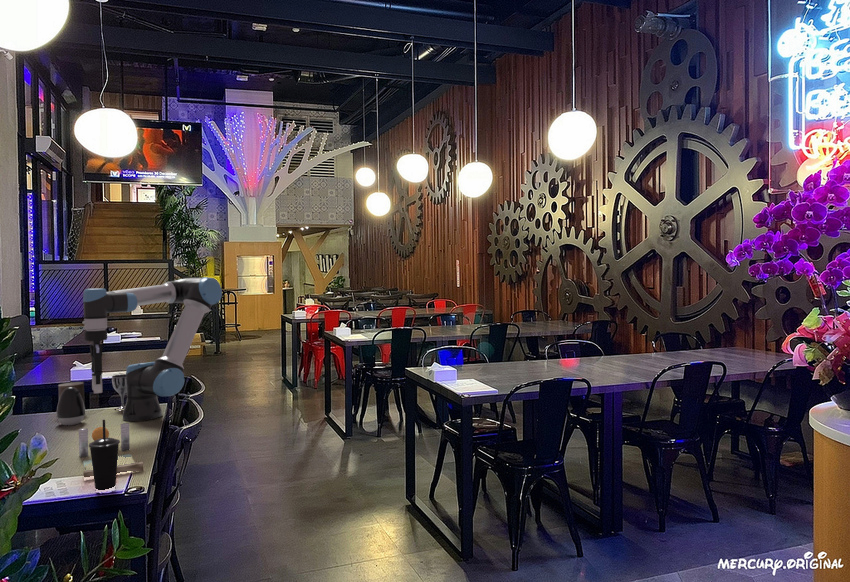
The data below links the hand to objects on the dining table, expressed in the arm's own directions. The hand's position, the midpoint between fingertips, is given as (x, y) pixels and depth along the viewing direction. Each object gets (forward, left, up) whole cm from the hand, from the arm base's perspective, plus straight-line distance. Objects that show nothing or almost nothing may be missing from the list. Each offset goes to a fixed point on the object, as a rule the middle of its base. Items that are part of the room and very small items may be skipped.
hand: (97, 391), depth 230 cm
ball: (0, +10, -14) cm, 17 cm away
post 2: (-6, +26, -17) cm, 31 cm away
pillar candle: (+7, -46, -17) cm, 50 cm away
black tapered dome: (+8, -28, -17) cm, 34 cm away
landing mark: (0, +40, -17) cm, 43 cm away
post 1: (+6, +26, -17) cm, 31 cm away
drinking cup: (+4, +68, -17) cm, 70 cm away
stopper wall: (0, +54, -17) cm, 56 cm away
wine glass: (-13, -48, -17) cm, 53 cm away
